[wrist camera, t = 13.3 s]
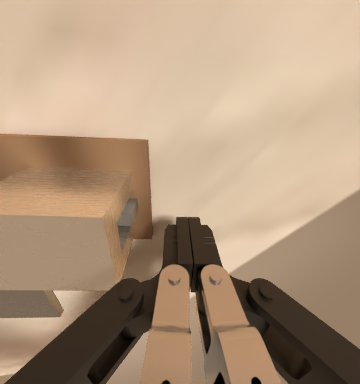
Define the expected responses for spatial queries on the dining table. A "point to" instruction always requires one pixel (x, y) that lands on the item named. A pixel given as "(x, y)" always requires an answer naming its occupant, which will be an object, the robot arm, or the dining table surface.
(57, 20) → the dining table surface
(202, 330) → the robot arm
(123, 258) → the tan wood block
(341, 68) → the dining table surface
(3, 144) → the rack
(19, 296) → the brown flat angled piece
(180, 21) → the dining table surface
